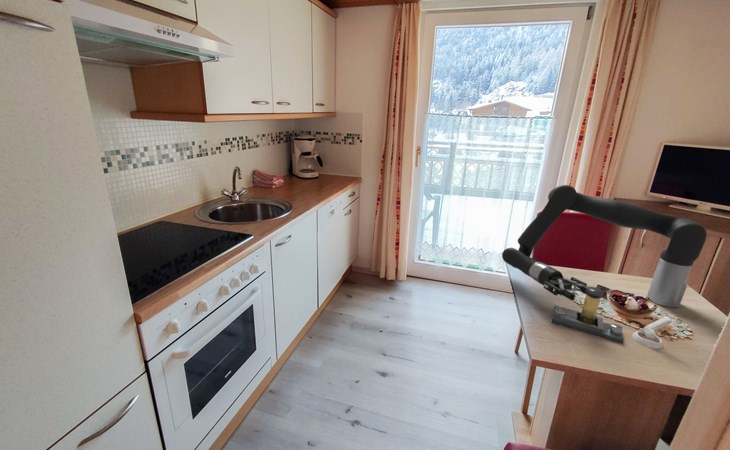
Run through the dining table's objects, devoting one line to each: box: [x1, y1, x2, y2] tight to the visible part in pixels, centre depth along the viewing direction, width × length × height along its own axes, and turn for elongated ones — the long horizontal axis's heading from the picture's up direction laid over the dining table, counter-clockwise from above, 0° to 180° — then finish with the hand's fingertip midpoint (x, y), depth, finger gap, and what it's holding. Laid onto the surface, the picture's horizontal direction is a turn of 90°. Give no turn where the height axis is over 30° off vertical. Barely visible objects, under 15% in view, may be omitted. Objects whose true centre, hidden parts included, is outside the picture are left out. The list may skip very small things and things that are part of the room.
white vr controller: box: [632, 315, 673, 349], centre depth 104 cm, size 8×12×7 cm
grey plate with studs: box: [551, 304, 625, 345], centre depth 111 cm, size 20×8×3 cm, turn 58°
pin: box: [579, 286, 605, 325], centre depth 110 cm, size 5×5×14 cm
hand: (583, 296), depth 111 cm, fingers open, 8 cm apart
